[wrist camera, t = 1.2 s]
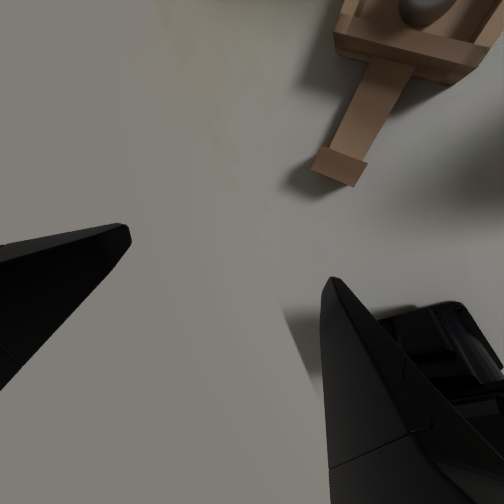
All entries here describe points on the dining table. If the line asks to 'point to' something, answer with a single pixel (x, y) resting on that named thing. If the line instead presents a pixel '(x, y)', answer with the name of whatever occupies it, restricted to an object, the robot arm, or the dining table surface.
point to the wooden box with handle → (401, 63)
